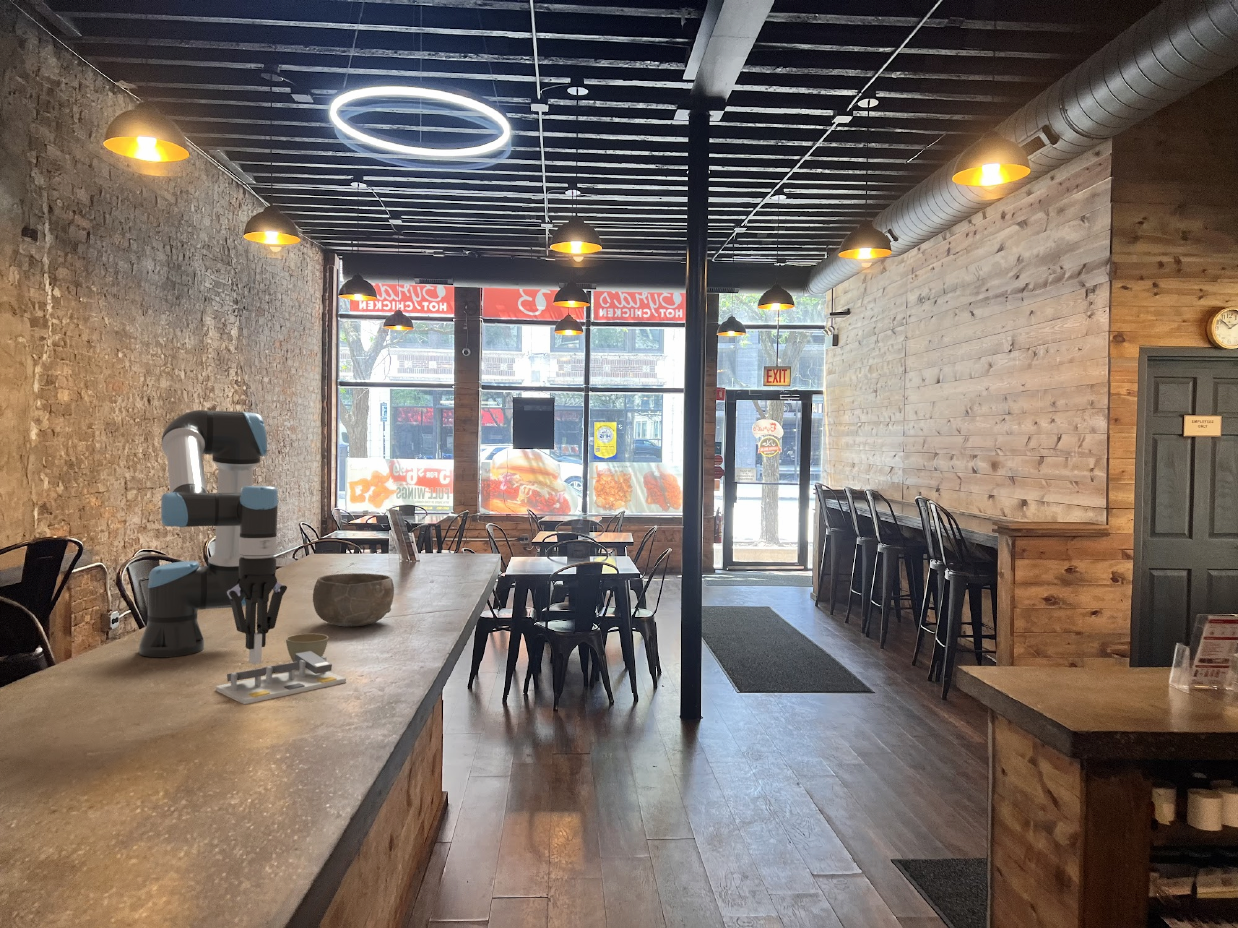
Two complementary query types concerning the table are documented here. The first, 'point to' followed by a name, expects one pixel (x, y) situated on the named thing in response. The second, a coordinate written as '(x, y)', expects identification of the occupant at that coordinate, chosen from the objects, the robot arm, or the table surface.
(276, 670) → the rocker
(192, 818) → the table surface
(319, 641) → the flower pot
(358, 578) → the bowl
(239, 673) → the rocker
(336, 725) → the table surface
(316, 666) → the rocker
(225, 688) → the switch unit
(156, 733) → the table surface
